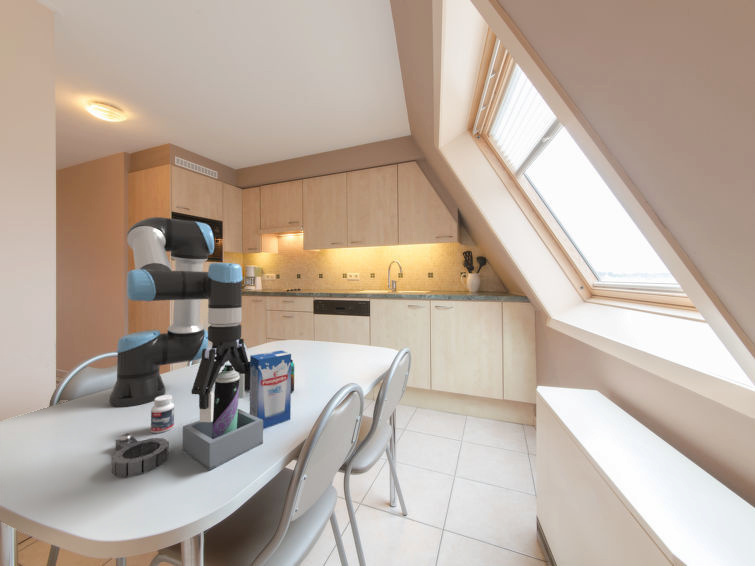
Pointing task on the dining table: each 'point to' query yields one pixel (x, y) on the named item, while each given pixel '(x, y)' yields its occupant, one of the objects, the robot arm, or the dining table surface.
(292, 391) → the beverage can
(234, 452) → the bin
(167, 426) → the pill bottle
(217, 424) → the spray can
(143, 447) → the socket ring
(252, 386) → the milk carton
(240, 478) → the dining table surface
